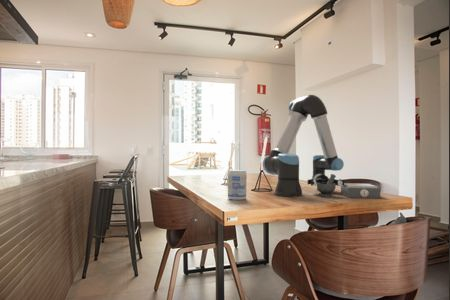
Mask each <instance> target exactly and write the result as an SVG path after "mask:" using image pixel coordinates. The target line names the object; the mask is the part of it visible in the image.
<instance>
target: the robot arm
mask: <svg viewBox="0 0 450 300" xmlns="http://www.w3.org/2000/svg"><path fill="white" fill-rule="evenodd" d="M288 115H289V118H288V120H287V121H286V124H285V126H284V127H283V130H282V133H281V135H280V137H279V139H278V141H277V143H276V145H275V148H273V149H271V151H270V152H269V154H268V155H266V156H265V157H263V160H262V167H263V170H264V171H265V172H266V173H267V174H269V175H271V176H277V182H276V183H277V184H276V187H275V189H274V195H275V196H280V197H301V196H303V190H302V186H301V184H300V157H299V155H297V154H295V153H289V152H290V151H291V149H292V146H293V144H294V141H295V139H296V137H297V134H299V133H298V132H299V130H300V128H301V126H302V124H303V123H304V122H306V121H307V119H308V116H309V115H310V118H311V119H312V120H313V121H314V126H315V128H316V132H317V136H318V140H319V143H320V146H321V150H322V155H321V154H320V155H319V154H317V155H316V154H314V155H313V156H312V176H311V179H307V185H310V186H314V187H317V183H327V182H328V180H329V177H328V176H327V175H326V171H332V172H333V171H337V172H338V171H341V170H342V169H343V168H344V166H345V164H344V160H343V159H342V158H339V157H338V153H337V149H336V146H335V143H334V142H335V141H334V139H333V135H332V131H331V129H330V124H329V121H328V117H327V115H328V111H327V107H326V106H325V103H324V102H323V100H322V99H321V98H320V97H319V96H318V95H315V94H307V95H305V96H301V97H297V98H295V99H292V101H290V102H289V105H288ZM333 183H334V184H336V185H337V186H339V187H341V186H342V185H344V183H345V180H343V179H341V178H340V179H335V178H334V181H333Z"/></svg>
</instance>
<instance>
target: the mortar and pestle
mask: <svg viewBox="0 0 450 300" xmlns="http://www.w3.org/2000/svg"><path fill="white" fill-rule="evenodd" d="M335 178H336V174H334V173H331V174H330V176H329V177H328V179H329V180H328V182H327V183H317V184H316V188H317V191H318V192H319V193H320V194H319V196H320V197H324V198H330V197H333V193H334V192H335V190H336V188H337V187H336V184H334V183H333V181H334V179H335Z"/></svg>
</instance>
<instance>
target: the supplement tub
mask: <svg viewBox="0 0 450 300" xmlns="http://www.w3.org/2000/svg"><path fill="white" fill-rule="evenodd" d="M227 175H228V176H227V198H228V199H229V200H233V201H241V200H246V199H247V170H244V169H243V170H242V169H229V170H228V173H227Z"/></svg>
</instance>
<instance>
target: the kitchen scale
mask: <svg viewBox="0 0 450 300" xmlns="http://www.w3.org/2000/svg"><path fill="white" fill-rule="evenodd" d="M340 194H341V195H343V196H345V197H346V198H354V199H355V198H360V199H361V198H363V199H364V198H366V199H381V188H380V187H378V186H377V185H374V184H371V183H354V182H353V183H350V182H349V183H348V182H346V183H345V182H344V185H342V186H340Z"/></svg>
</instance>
